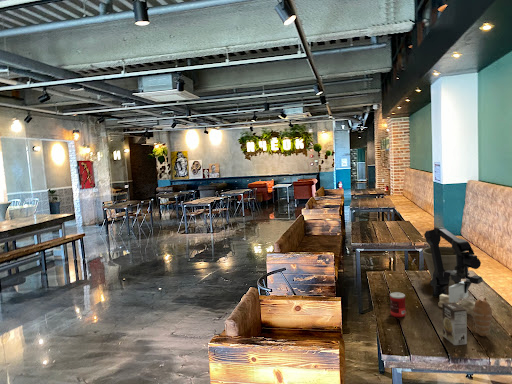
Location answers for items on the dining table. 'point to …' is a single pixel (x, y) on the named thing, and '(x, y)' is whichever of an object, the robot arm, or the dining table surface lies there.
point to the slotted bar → (457, 292)
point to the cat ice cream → (482, 316)
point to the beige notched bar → (464, 303)
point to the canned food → (397, 304)
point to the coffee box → (454, 323)
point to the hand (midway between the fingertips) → (462, 292)
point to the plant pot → (447, 260)
